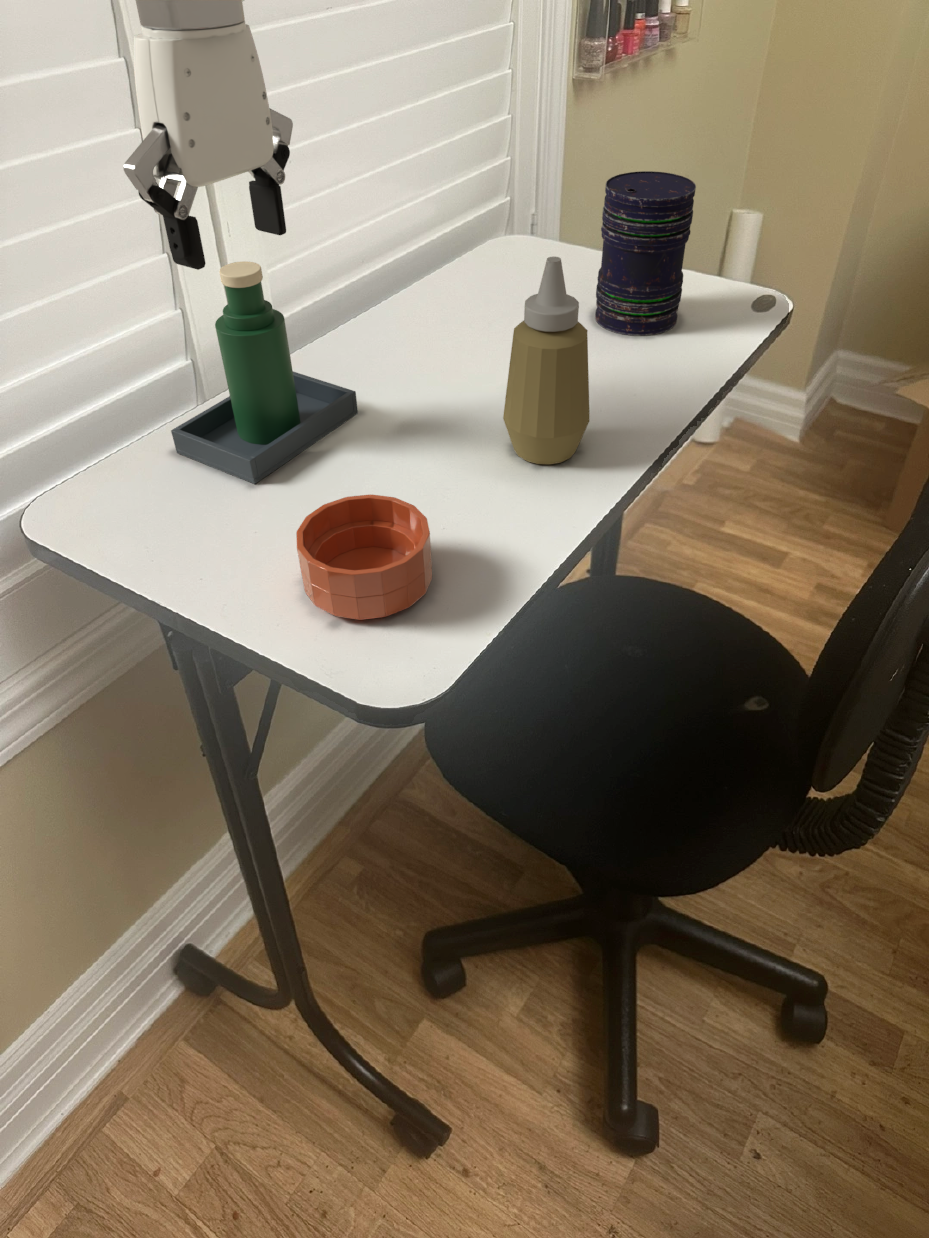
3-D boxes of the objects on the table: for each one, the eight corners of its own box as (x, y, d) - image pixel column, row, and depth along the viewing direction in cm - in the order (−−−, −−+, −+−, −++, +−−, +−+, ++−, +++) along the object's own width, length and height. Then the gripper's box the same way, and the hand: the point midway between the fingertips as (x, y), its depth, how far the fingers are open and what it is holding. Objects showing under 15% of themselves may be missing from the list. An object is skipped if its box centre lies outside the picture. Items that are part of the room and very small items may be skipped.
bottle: (236, 447, 87) (201, 285, 76) (238, 415, 91) (206, 258, 81) (301, 441, 87) (275, 279, 77) (300, 410, 92) (276, 253, 81)
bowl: (306, 632, 68) (297, 580, 64) (304, 551, 75) (295, 501, 72) (439, 617, 69) (436, 565, 65) (423, 539, 76) (420, 489, 73)
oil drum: (637, 294, 113) (651, 165, 103) (695, 321, 107) (716, 186, 97) (576, 315, 109) (585, 183, 99) (633, 344, 103) (649, 206, 93)
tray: (254, 484, 83) (250, 460, 81) (176, 453, 87) (170, 430, 85) (358, 413, 92) (355, 391, 90) (283, 388, 96) (279, 366, 95)
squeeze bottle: (492, 465, 84) (493, 273, 72) (514, 423, 90) (518, 238, 78) (577, 478, 82) (593, 282, 70) (594, 434, 88) (611, 246, 76)
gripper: (237, -9, 73) (269, 214, 84) (58, 20, 62) (122, 271, 73) (308, -3, 70) (331, 228, 81) (133, 28, 59) (187, 290, 70)
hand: (232, 248), depth 77 cm, fingers open, 9 cm apart
